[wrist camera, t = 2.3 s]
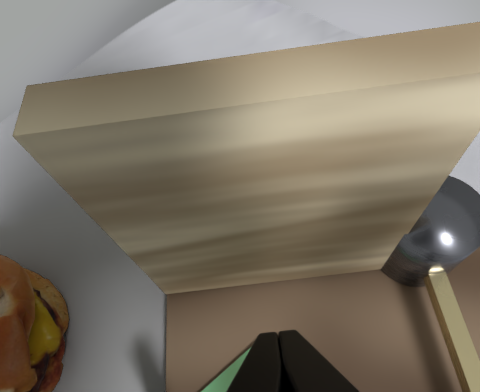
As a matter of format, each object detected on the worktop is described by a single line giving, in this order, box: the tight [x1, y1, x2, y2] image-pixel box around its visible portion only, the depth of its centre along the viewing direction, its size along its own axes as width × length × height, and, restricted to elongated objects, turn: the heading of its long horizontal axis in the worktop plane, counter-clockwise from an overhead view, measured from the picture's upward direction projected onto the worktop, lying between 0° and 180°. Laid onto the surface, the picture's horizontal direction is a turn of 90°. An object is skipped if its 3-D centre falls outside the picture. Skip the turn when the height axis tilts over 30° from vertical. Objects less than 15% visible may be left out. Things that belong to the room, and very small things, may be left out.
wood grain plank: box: [13, 22, 480, 392], centre depth 11 cm, size 13×14×12 cm
